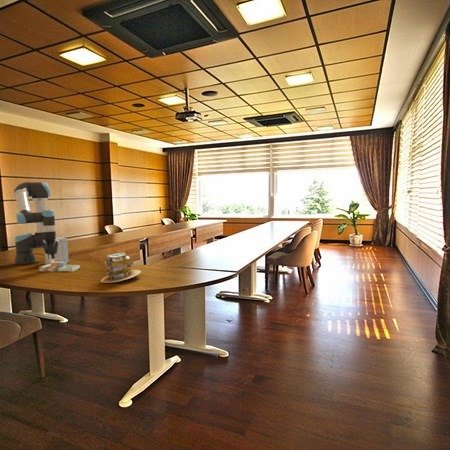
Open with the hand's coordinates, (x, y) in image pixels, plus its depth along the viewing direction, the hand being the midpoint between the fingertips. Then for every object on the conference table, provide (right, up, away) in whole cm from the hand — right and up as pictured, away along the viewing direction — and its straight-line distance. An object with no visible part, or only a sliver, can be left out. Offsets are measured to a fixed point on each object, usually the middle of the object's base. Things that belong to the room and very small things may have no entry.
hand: (51, 263), depth 223 cm
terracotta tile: (+3, -2, 0) cm, 3 cm away
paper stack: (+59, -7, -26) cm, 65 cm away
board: (0, -5, +1) cm, 5 cm away
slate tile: (+7, -2, 0) cm, 8 cm away
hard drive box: (-8, -3, +21) cm, 22 cm away
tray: (+13, -5, -1) cm, 14 cm away
